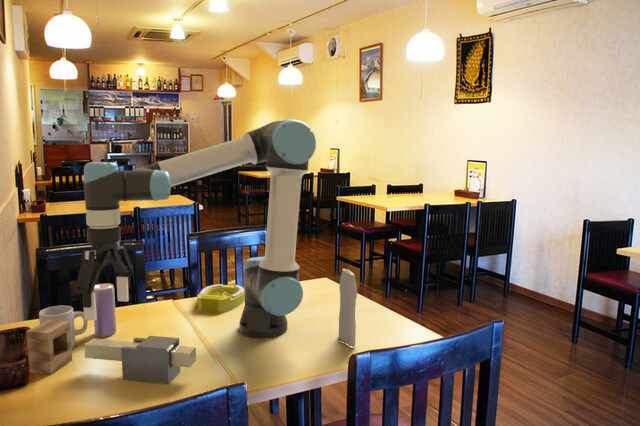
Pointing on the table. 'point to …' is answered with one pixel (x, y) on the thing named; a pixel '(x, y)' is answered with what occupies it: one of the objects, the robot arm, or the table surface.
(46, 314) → the mug
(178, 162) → the robot arm
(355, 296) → the tall pale column
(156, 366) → the sleeve
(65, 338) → the socket block
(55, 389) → the table surface
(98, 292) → the beverage can
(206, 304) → the ashtray
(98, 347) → the beige square bar
